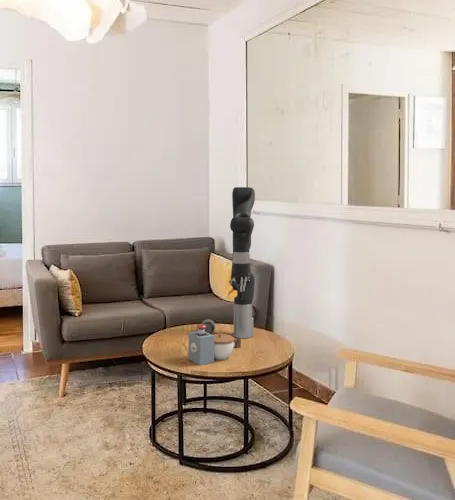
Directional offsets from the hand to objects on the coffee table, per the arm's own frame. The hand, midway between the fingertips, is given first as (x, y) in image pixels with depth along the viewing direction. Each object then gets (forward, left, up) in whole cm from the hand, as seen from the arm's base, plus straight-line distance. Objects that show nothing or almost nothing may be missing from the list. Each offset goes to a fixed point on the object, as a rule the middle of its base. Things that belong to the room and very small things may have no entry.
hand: (240, 299), depth 268 cm
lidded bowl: (+11, 0, -26) cm, 28 cm away
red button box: (+20, 0, -25) cm, 33 cm away
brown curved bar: (+6, -9, -25) cm, 27 cm away
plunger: (+20, 0, -15) cm, 25 cm away
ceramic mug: (-4, -37, -26) cm, 45 cm away
